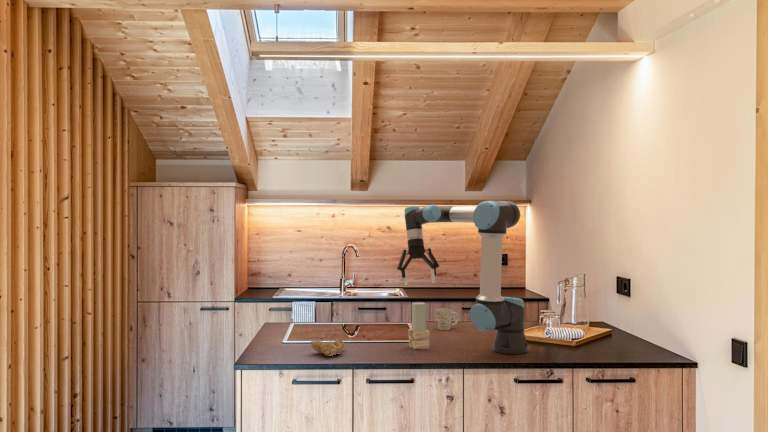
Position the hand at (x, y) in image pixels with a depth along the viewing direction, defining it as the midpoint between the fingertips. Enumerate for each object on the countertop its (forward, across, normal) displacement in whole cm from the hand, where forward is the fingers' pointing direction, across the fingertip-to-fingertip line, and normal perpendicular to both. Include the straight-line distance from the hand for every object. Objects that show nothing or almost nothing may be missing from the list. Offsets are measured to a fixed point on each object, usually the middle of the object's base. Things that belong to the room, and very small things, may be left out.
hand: (420, 284), depth 288 cm
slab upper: (+25, +6, +8) cm, 27 cm away
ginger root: (+28, +46, +7) cm, 55 cm away
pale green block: (+21, +6, +9) cm, 24 cm away
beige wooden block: (+29, +6, +7) cm, 30 cm away
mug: (+22, -23, -28) cm, 42 cm away
